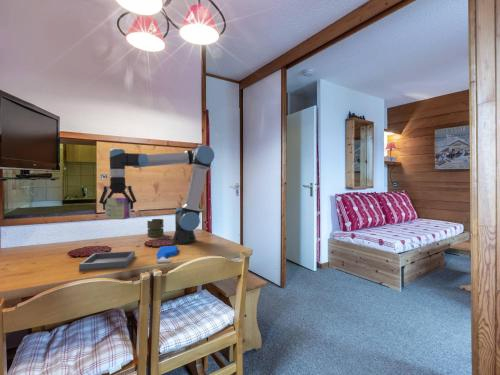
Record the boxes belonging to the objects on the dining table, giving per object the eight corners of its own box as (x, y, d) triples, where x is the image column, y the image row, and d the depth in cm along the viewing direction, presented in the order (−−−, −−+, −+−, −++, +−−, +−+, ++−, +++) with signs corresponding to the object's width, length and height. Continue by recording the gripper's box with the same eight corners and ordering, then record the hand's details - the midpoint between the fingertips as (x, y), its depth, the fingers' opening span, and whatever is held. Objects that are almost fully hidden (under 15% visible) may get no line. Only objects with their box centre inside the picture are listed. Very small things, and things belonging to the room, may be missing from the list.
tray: (134, 256, 138) (134, 251, 138) (125, 267, 121) (125, 261, 121) (94, 258, 134) (94, 253, 134) (79, 270, 117) (79, 264, 117)
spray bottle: (159, 246, 150) (151, 259, 126) (178, 245, 152) (174, 258, 128) (159, 251, 150) (151, 265, 126) (178, 250, 152) (174, 264, 128)
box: (130, 217, 145) (129, 197, 145) (124, 219, 139) (123, 198, 139) (113, 217, 146) (112, 197, 146) (106, 219, 140) (106, 198, 140)
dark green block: (144, 220, 185) (153, 218, 196) (144, 237, 186) (153, 234, 197) (157, 221, 183) (166, 219, 194) (157, 238, 183) (166, 234, 194)
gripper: (91, 176, 136) (92, 217, 136) (138, 176, 141) (139, 215, 141) (96, 176, 143) (97, 215, 144) (141, 176, 148) (142, 213, 149)
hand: (118, 215), depth 143 cm, fingers closed on box, 11 cm apart
